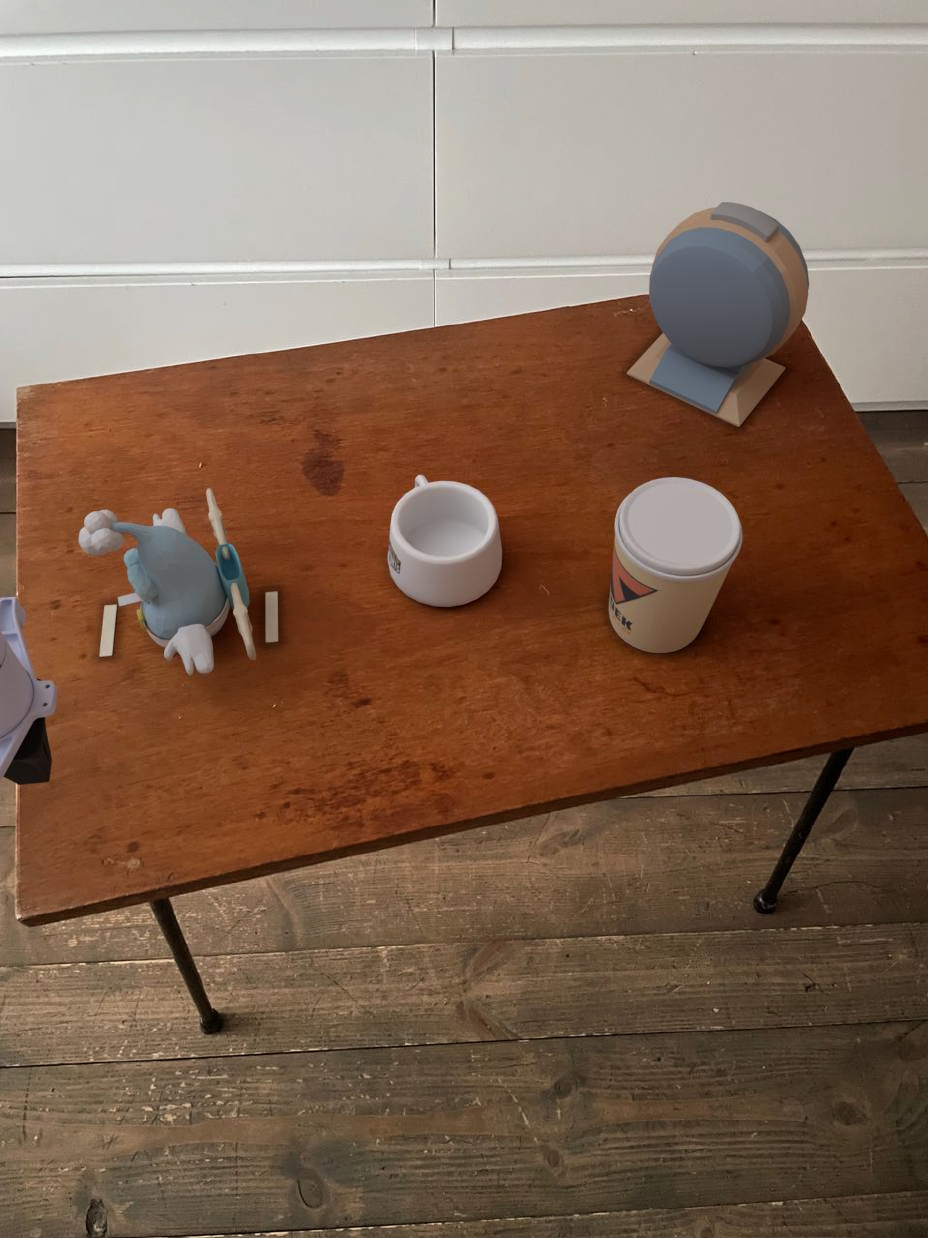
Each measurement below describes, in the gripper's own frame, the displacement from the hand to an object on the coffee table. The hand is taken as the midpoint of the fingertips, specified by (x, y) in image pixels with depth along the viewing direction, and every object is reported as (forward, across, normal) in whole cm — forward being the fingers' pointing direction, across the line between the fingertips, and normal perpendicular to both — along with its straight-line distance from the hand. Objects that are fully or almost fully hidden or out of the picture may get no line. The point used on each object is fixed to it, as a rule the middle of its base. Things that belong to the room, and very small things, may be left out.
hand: (34, 773), depth 67 cm
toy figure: (+11, +18, -7) cm, 22 cm away
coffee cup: (+11, +15, -45) cm, 49 cm away
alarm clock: (+11, +43, -56) cm, 71 cm away
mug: (+11, +23, -28) cm, 38 cm away
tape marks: (+10, +18, -7) cm, 22 cm away
